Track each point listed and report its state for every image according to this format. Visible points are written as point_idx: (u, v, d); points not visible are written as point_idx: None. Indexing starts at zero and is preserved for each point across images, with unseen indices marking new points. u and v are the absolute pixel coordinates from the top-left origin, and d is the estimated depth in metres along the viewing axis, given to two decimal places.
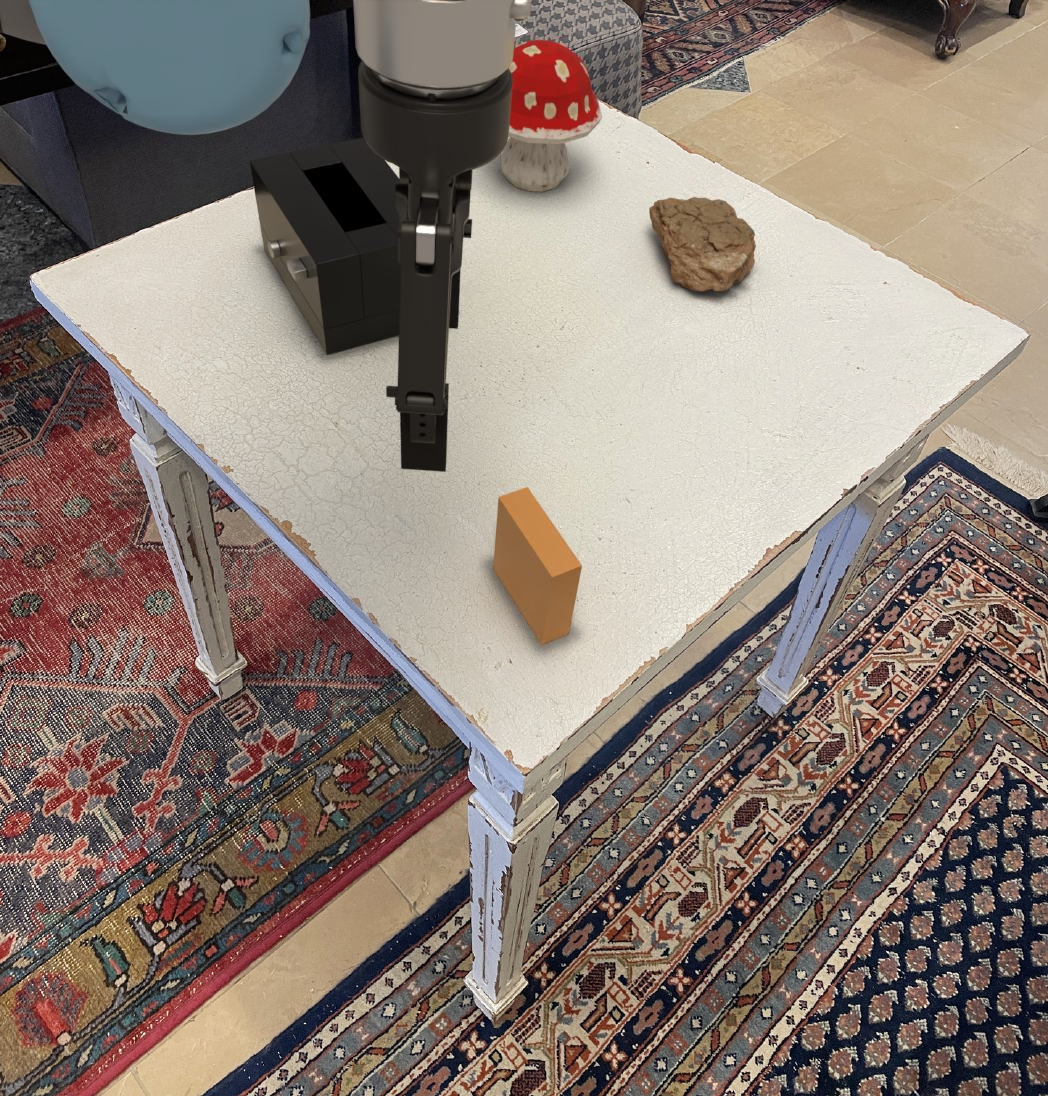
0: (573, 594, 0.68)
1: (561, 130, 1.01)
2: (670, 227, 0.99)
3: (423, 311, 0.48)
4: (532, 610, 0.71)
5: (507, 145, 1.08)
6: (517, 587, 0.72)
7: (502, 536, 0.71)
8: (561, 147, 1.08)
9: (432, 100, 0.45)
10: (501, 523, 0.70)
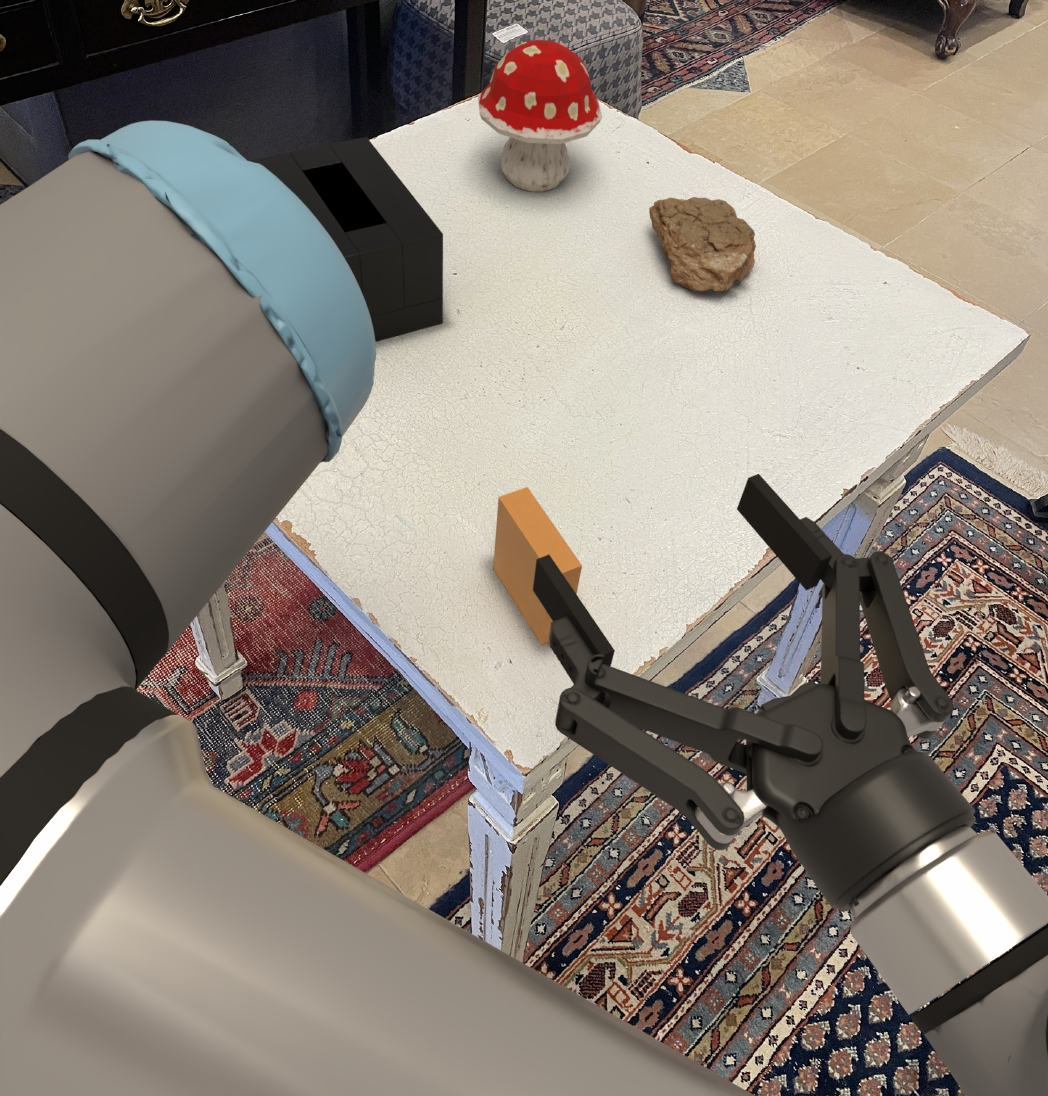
0: None
1: (561, 130, 1.01)
2: (670, 227, 0.99)
3: (652, 779, 0.44)
4: (532, 610, 0.71)
5: (507, 145, 1.08)
6: (517, 587, 0.72)
7: (502, 536, 0.71)
8: (561, 147, 1.08)
9: (851, 901, 0.41)
10: (501, 523, 0.70)
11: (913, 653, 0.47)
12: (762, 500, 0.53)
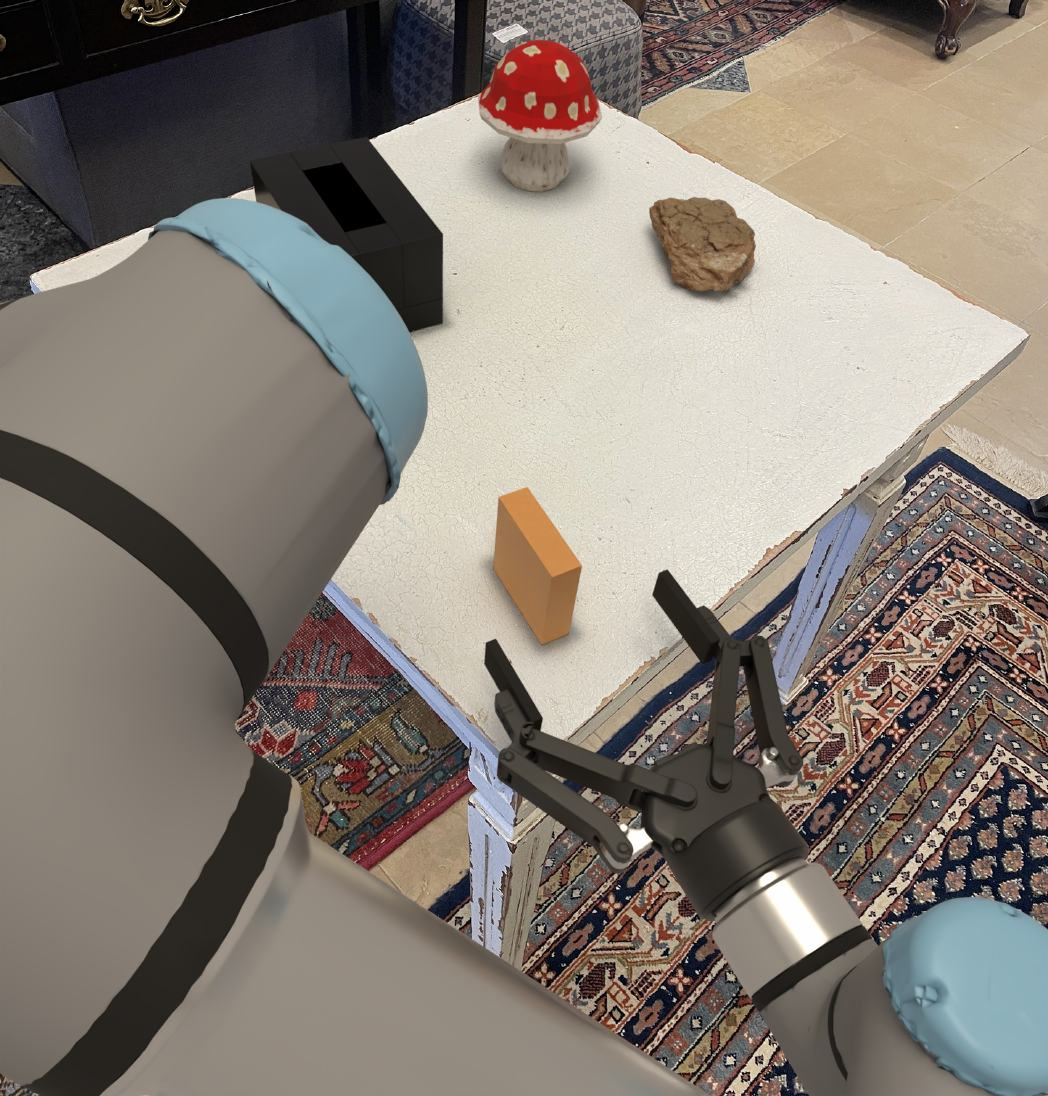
0: (573, 594, 0.68)
1: (561, 130, 1.01)
2: (670, 227, 0.99)
3: (567, 819, 0.57)
4: (532, 610, 0.71)
5: (507, 145, 1.08)
6: (517, 587, 0.72)
7: (502, 536, 0.71)
8: (561, 147, 1.08)
9: (711, 913, 0.54)
10: (501, 523, 0.70)
11: (776, 720, 0.61)
12: (669, 591, 0.67)
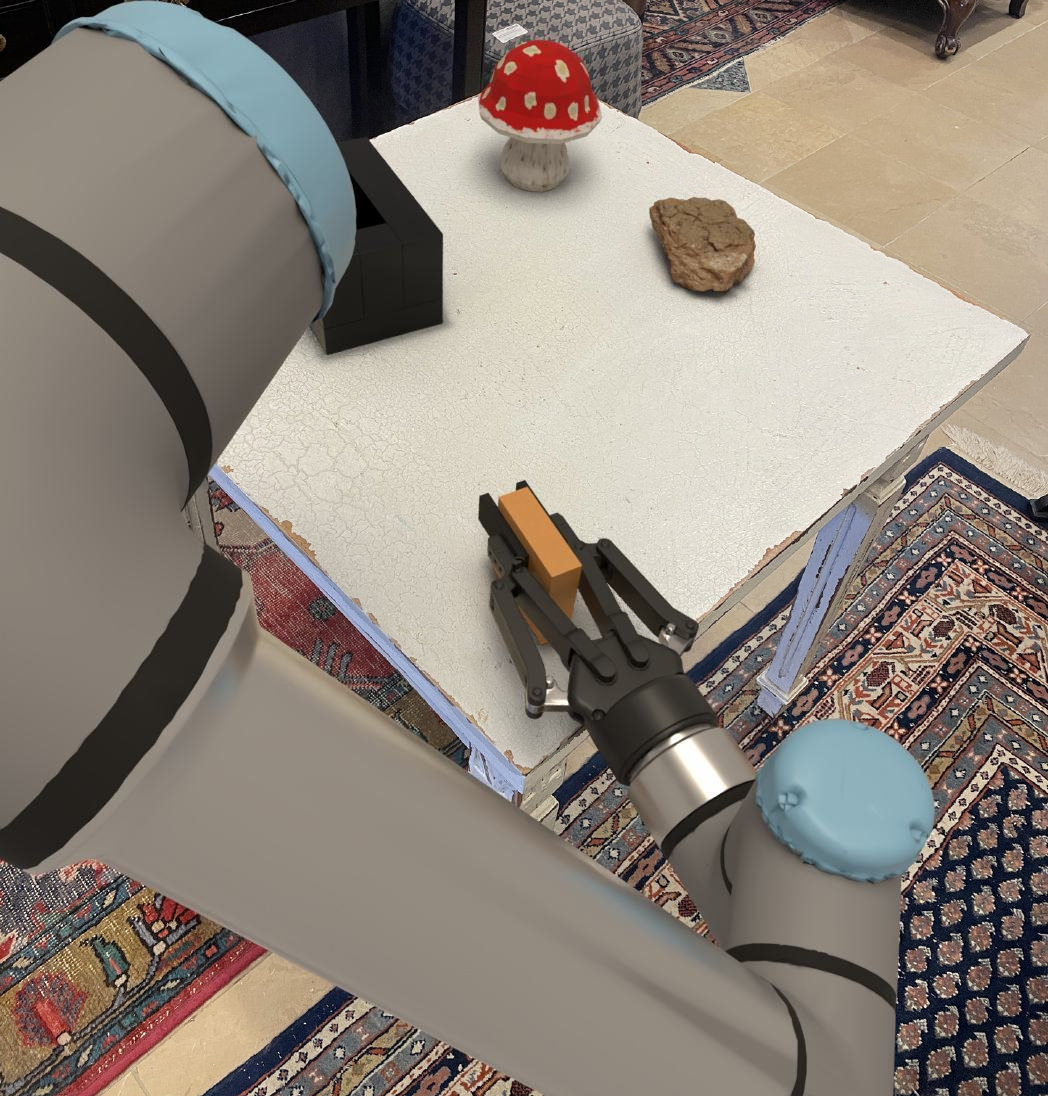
0: (573, 594, 0.68)
1: (561, 130, 1.01)
2: (670, 227, 0.99)
3: (515, 655, 0.64)
4: None
5: (507, 145, 1.08)
6: None
7: None
8: (561, 147, 1.08)
9: (627, 775, 0.59)
10: None
11: (657, 600, 0.66)
12: None
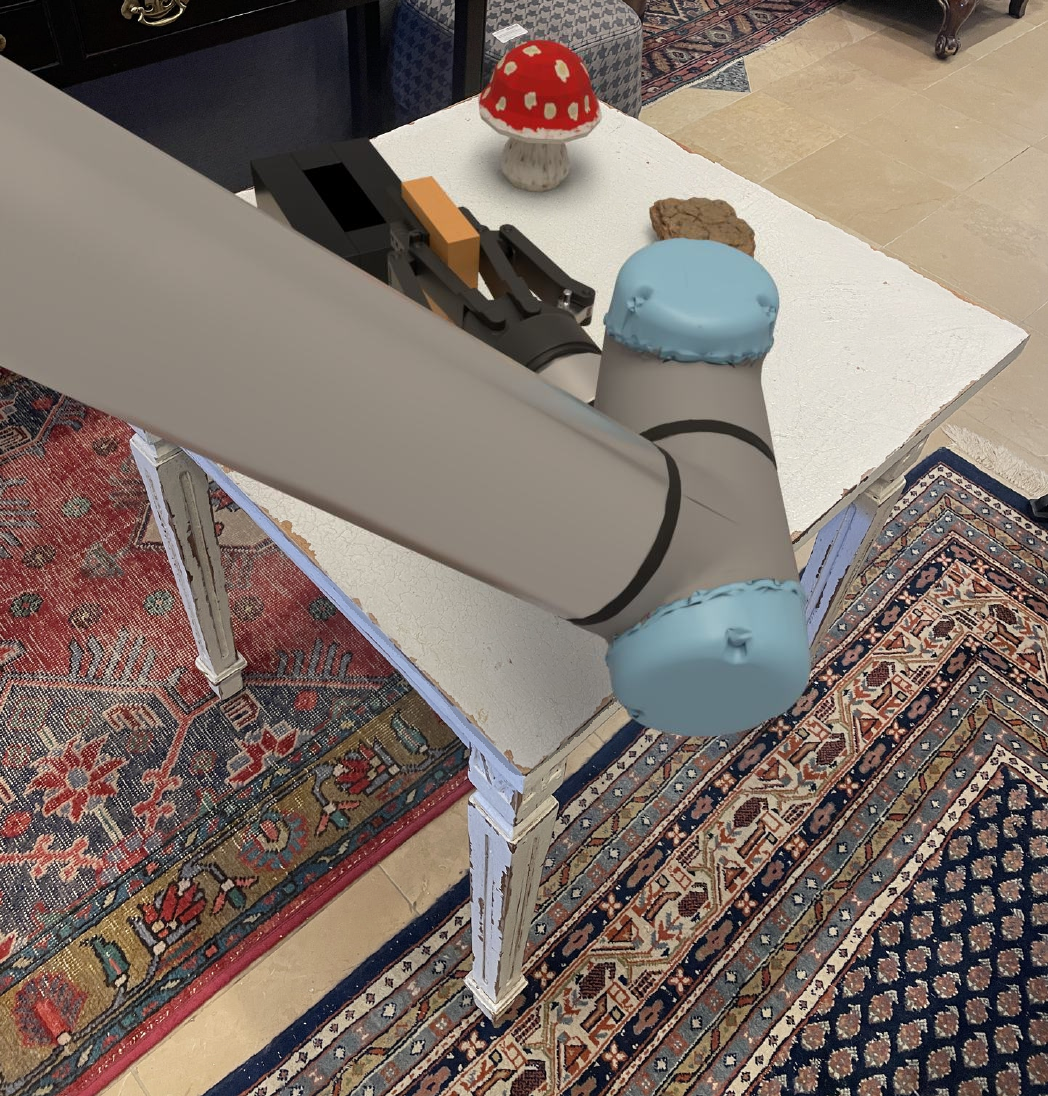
0: (474, 276, 0.68)
1: (561, 130, 1.01)
2: (670, 227, 0.99)
3: None
4: None
5: (507, 145, 1.08)
6: None
7: None
8: (561, 147, 1.08)
9: None
10: None
11: (555, 272, 0.65)
12: None
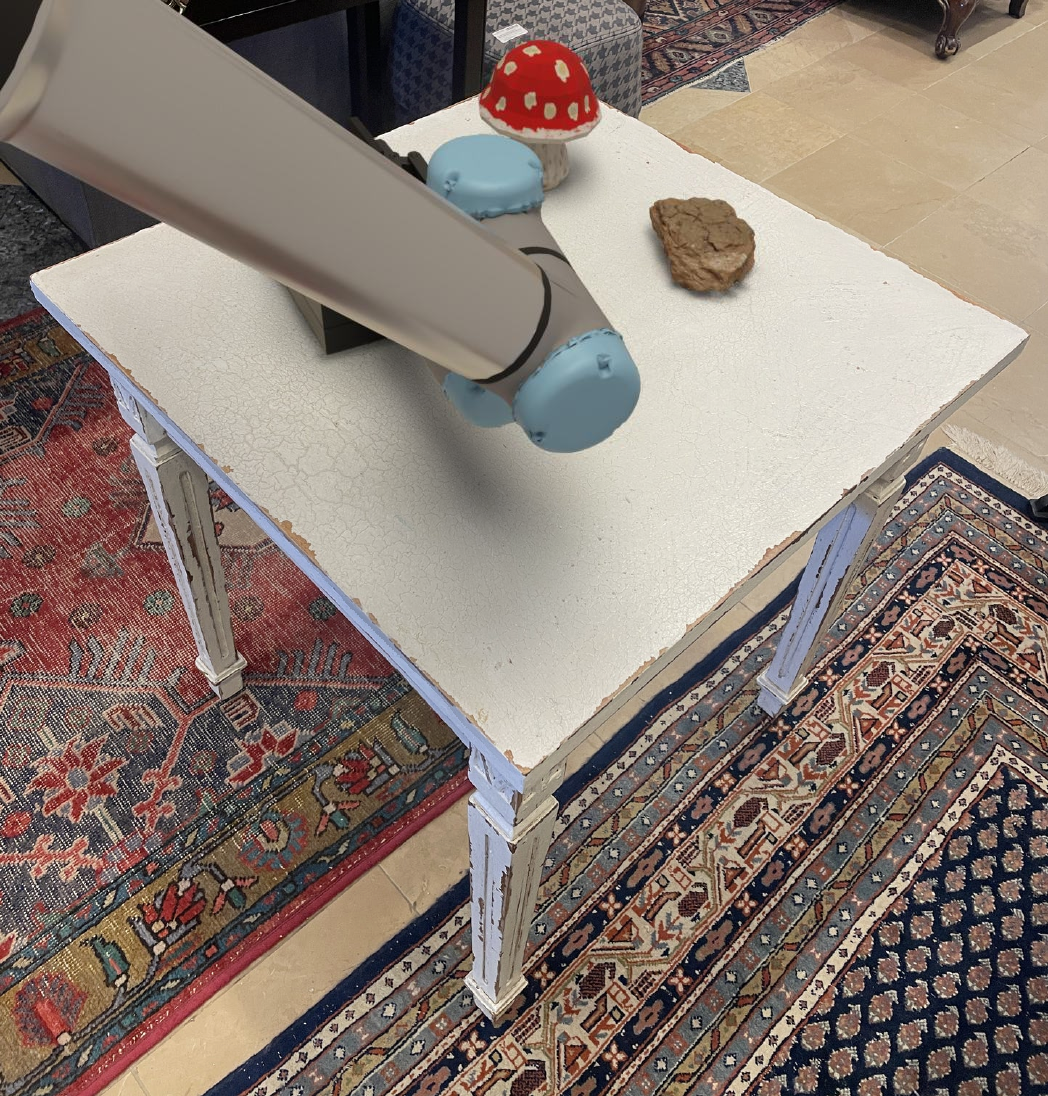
0: None
1: (561, 130, 1.01)
2: (670, 227, 0.99)
3: None
4: None
5: None
6: None
7: None
8: (561, 147, 1.08)
9: None
10: None
11: None
12: (355, 129, 0.89)
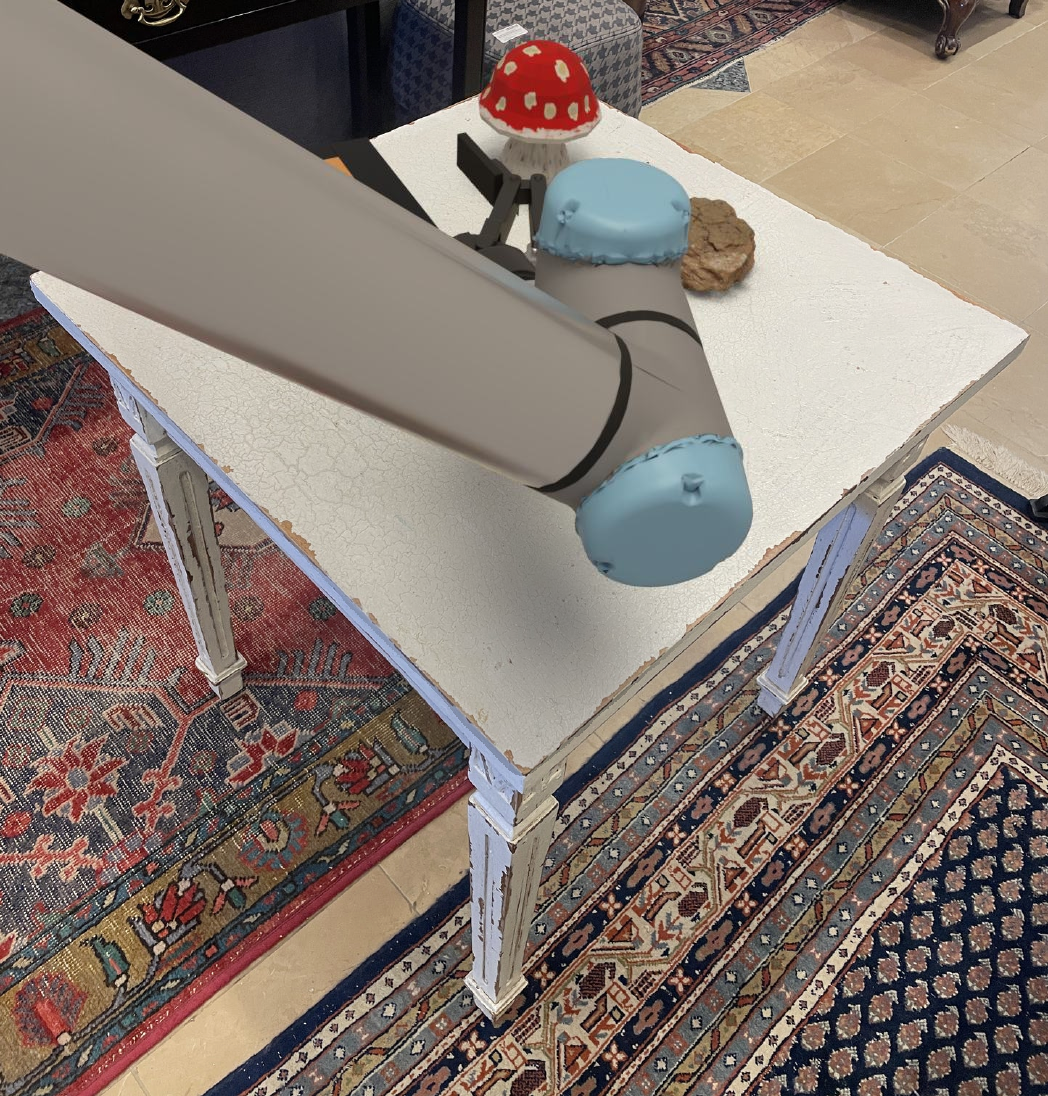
0: None
1: (561, 130, 1.01)
2: None
3: None
4: None
5: (507, 145, 1.08)
6: None
7: None
8: (561, 147, 1.08)
9: None
10: None
11: None
12: (465, 147, 0.76)
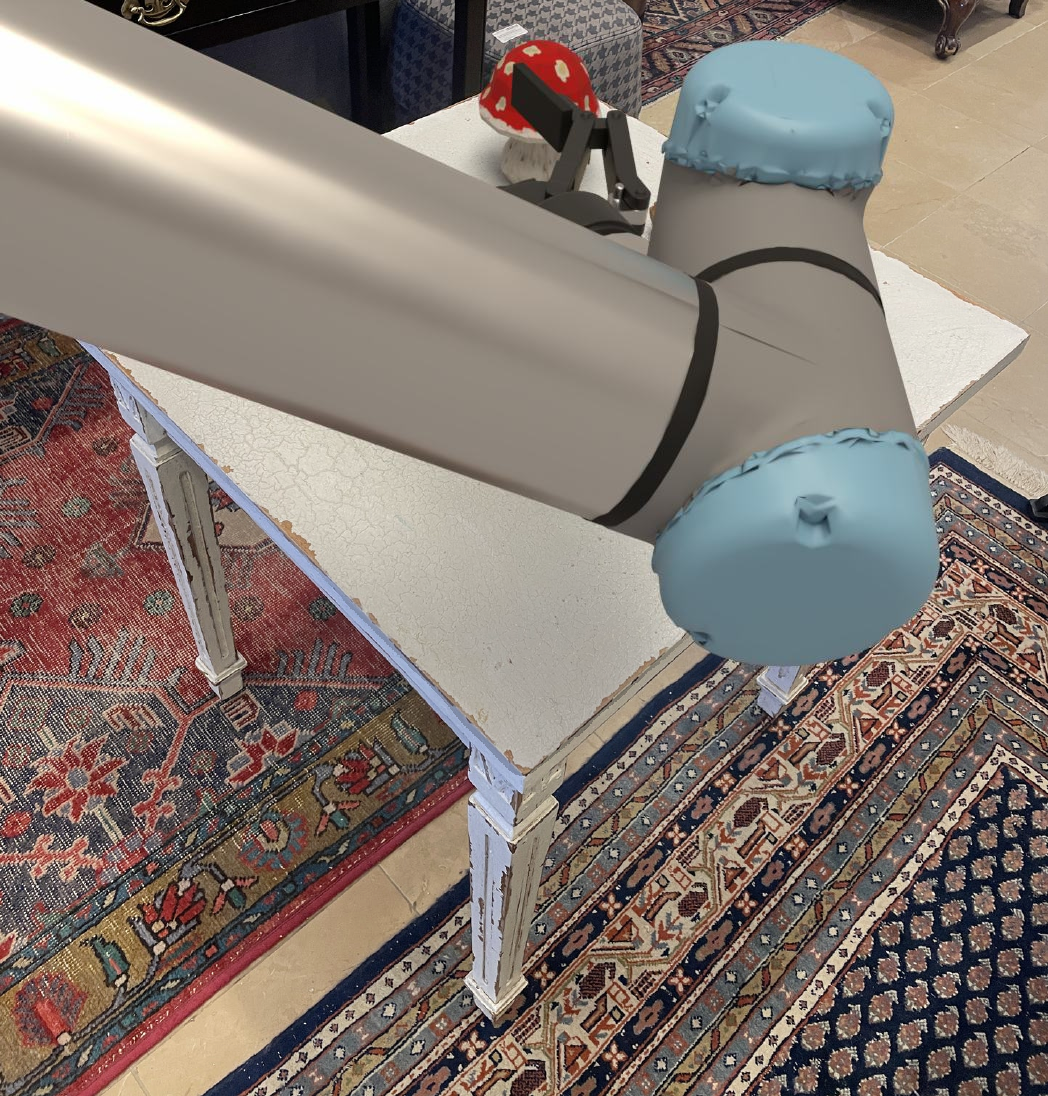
0: None
1: None
2: None
3: None
4: None
5: (507, 145, 1.08)
6: None
7: None
8: None
9: None
10: None
11: (626, 165, 0.55)
12: (523, 80, 0.61)
